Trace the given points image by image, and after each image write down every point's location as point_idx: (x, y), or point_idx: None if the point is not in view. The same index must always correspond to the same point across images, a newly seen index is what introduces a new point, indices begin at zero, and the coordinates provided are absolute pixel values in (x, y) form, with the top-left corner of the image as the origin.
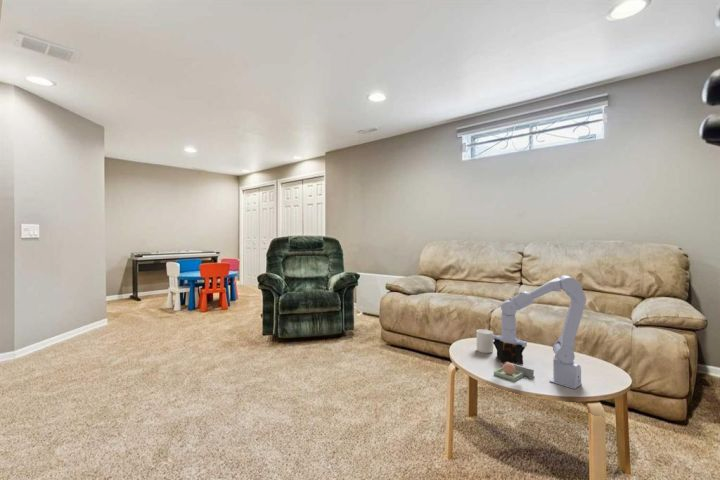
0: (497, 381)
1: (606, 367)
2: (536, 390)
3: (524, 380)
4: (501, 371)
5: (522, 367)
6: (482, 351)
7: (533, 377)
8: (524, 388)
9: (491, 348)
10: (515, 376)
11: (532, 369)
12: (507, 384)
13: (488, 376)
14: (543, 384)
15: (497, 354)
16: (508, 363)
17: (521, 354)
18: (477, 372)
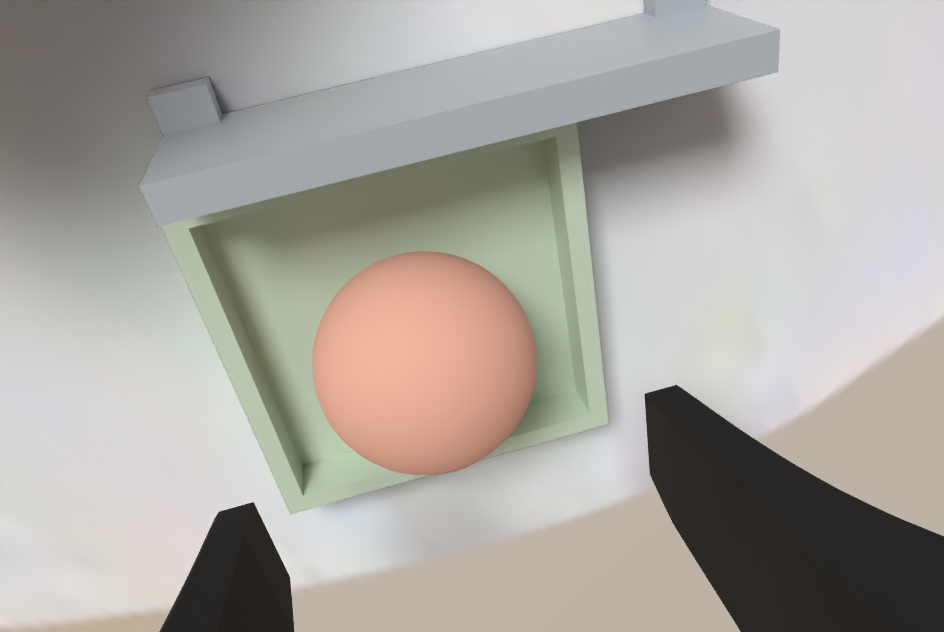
0: (470, 545)
1: None
2: (879, 339)
3: (652, 236)
4: (254, 324)
5: (559, 123)
6: None
7: (696, 7)
8: (764, 415)
9: None
10: (594, 376)
11: (762, 50)
12: (588, 502)
13: (300, 552)
14: (895, 102)
15: None
16: (449, 447)
17: (813, 475)
18: (120, 598)
